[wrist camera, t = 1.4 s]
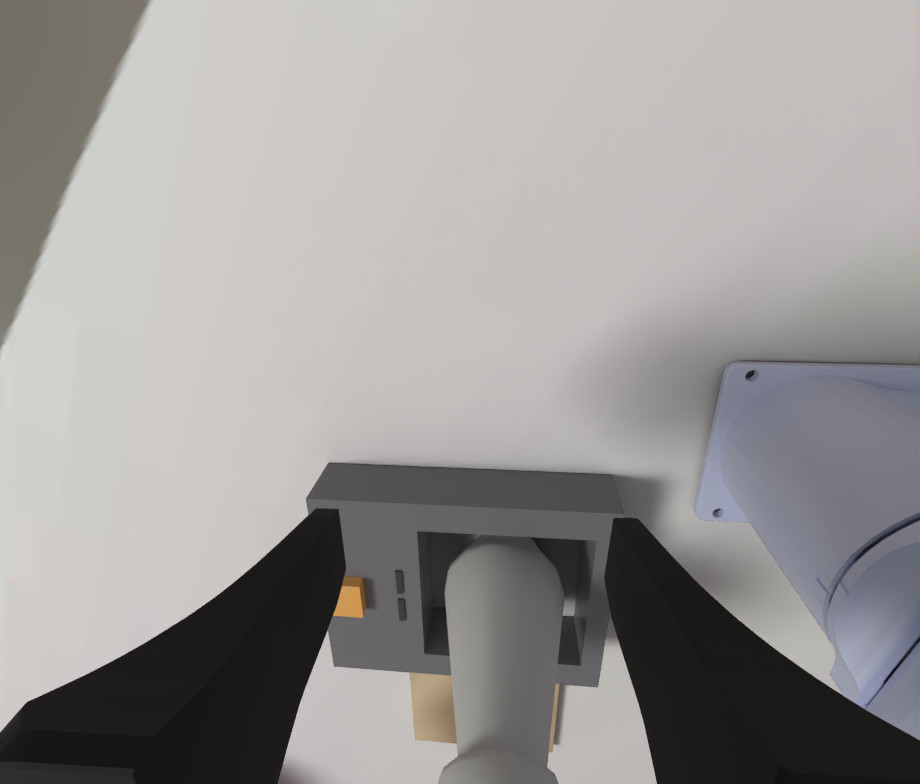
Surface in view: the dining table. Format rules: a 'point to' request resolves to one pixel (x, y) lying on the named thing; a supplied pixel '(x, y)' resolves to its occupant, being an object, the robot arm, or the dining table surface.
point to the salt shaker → (503, 660)
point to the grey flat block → (466, 512)
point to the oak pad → (444, 708)
